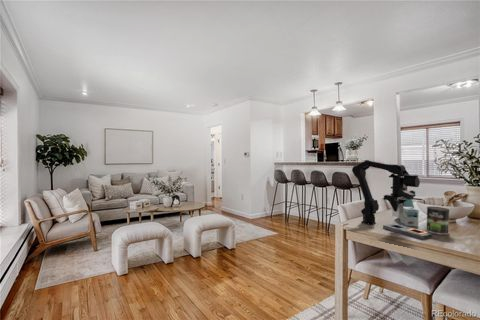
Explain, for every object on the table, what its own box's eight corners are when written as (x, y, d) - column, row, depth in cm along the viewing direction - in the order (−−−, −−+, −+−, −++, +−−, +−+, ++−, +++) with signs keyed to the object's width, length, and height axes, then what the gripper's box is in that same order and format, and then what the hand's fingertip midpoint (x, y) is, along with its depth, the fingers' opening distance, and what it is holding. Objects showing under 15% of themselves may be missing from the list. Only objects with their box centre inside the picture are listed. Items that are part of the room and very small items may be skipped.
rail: (383, 228, 149) (383, 224, 149) (393, 226, 154) (393, 222, 154) (422, 239, 130) (422, 235, 129) (433, 237, 134) (433, 232, 134)
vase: (398, 216, 179) (398, 192, 179) (417, 219, 171) (417, 194, 170) (393, 219, 171) (393, 194, 171) (412, 222, 163) (413, 196, 162)
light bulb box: (418, 226, 153) (419, 209, 153) (406, 226, 155) (407, 209, 155) (410, 222, 164) (410, 206, 164) (399, 221, 165) (399, 206, 165)
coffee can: (446, 236, 136) (446, 211, 136) (423, 231, 144) (424, 207, 144) (450, 232, 142) (451, 208, 142) (429, 228, 150) (429, 205, 150)
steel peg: (392, 215, 147) (392, 202, 147) (396, 215, 149) (396, 202, 149) (398, 217, 144) (399, 203, 144) (403, 216, 145) (403, 203, 145)
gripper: (402, 187, 135) (402, 215, 135) (421, 186, 143) (421, 212, 143) (383, 185, 145) (382, 211, 145) (402, 184, 153) (401, 208, 153)
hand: (397, 211), depth 146 cm, fingers closed on steel peg, 4 cm apart
